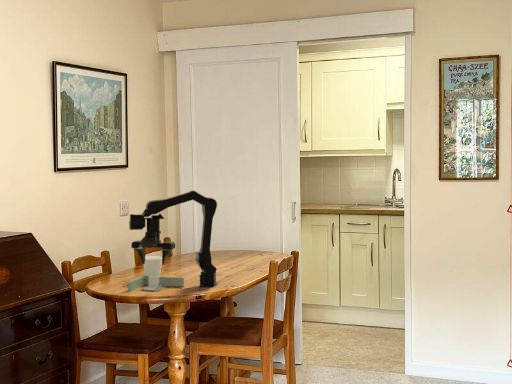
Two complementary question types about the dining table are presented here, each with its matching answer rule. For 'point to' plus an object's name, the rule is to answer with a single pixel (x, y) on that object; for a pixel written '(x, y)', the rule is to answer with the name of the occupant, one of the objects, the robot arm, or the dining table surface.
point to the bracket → (153, 283)
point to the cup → (152, 265)
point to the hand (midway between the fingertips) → (153, 264)
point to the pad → (155, 290)
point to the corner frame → (163, 282)
